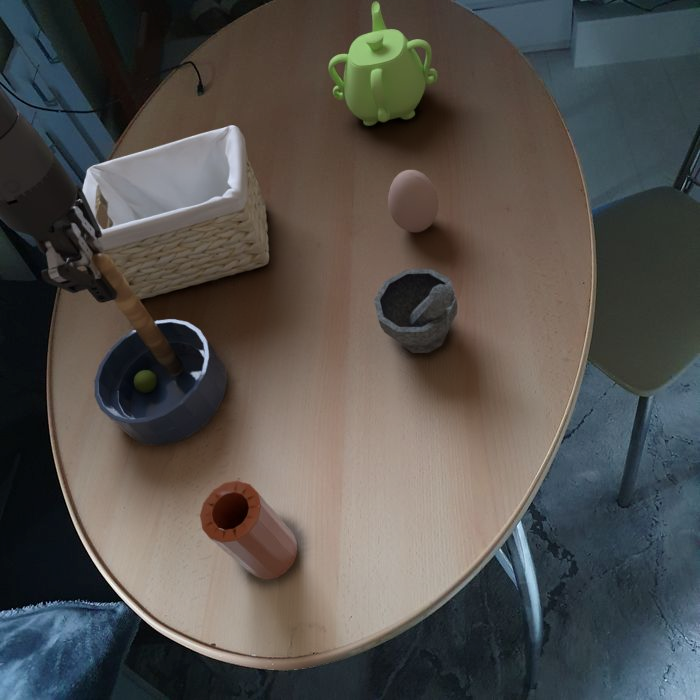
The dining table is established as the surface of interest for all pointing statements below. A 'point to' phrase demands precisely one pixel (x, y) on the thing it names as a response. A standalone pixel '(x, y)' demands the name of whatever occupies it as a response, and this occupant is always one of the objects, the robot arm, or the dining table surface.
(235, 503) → the crock
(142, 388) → the olive
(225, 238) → the basket
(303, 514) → the dining table surface
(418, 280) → the mortar and pestle
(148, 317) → the stick
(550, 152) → the dining table surface
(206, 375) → the bowl
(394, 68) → the teapot
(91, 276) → the robot arm
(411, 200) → the egg
